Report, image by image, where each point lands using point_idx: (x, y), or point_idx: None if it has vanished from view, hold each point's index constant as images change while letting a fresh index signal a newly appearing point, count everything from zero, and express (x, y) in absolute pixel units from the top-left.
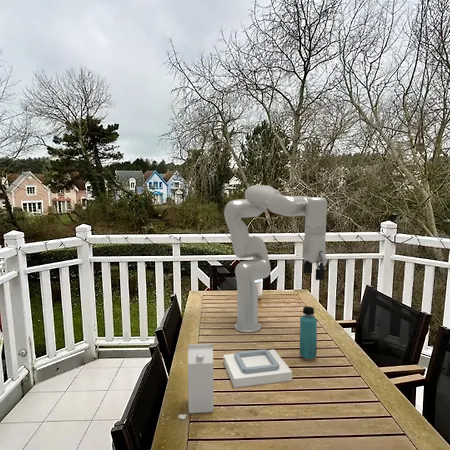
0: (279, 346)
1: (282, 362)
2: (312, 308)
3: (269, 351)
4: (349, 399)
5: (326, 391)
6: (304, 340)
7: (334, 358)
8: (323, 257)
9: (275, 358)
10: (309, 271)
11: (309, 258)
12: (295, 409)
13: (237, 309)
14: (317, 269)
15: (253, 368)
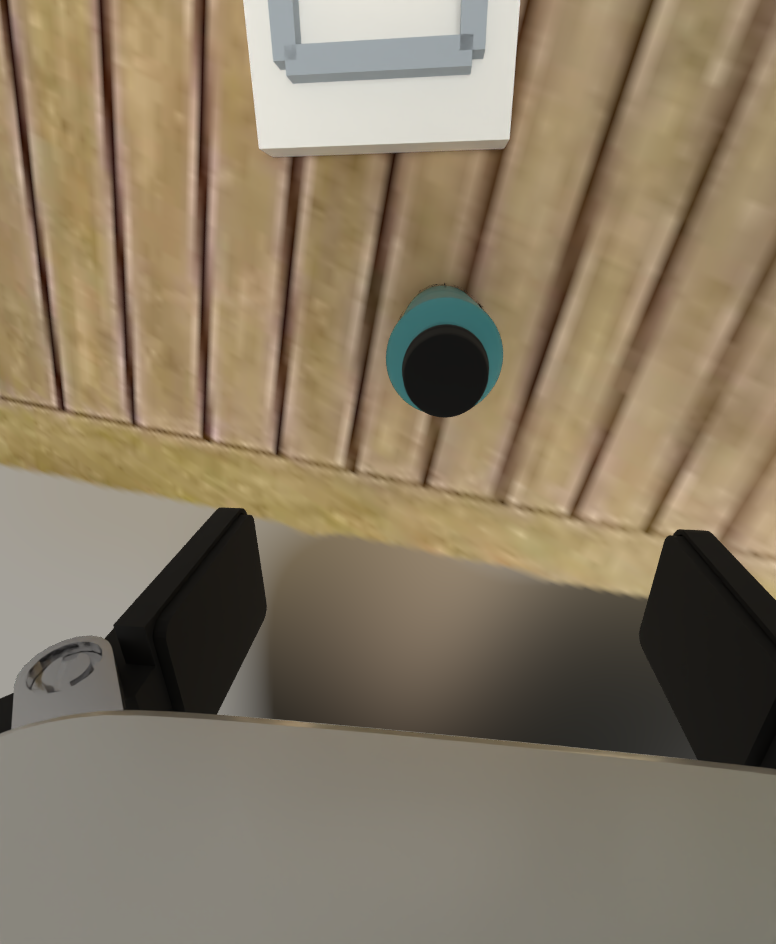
0: (609, 230)
1: (355, 131)
2: (425, 402)
3: (494, 95)
4: (139, 334)
5: (187, 276)
6: (415, 301)
7: (416, 437)
8: None
9: (405, 104)
10: (658, 624)
11: (206, 853)
12: (70, 79)
13: None
14: (122, 640)
15: None
